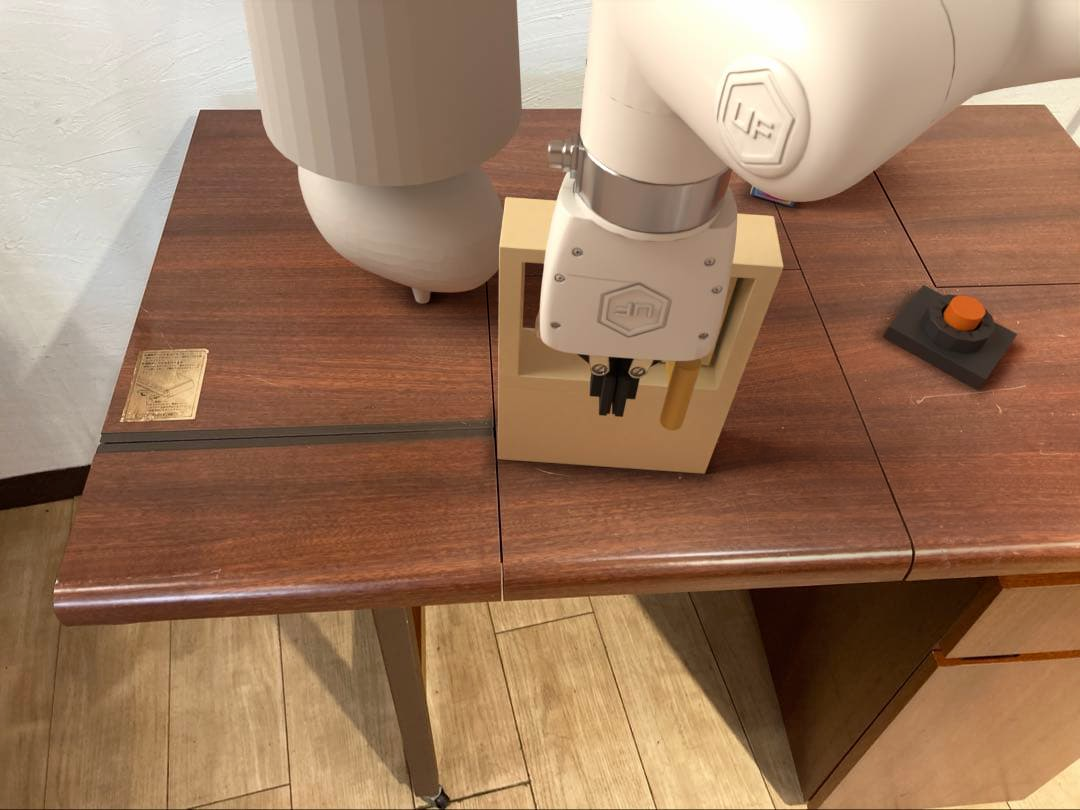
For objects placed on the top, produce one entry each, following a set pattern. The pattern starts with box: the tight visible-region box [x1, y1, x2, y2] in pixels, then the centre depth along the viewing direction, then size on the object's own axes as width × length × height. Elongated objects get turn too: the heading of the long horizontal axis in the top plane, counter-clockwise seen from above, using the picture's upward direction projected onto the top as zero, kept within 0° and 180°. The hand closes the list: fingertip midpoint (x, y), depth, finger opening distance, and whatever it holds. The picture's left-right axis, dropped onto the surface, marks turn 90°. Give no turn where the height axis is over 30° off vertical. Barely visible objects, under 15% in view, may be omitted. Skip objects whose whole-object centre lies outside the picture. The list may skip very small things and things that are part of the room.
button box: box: [882, 284, 1018, 391], centre depth 80 cm, size 10×8×4 cm
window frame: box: [497, 196, 785, 475], centre depth 62 cm, size 5×18×24 cm, turn 87°
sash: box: [660, 277, 738, 430], centre depth 55 cm, size 9×7×11 cm
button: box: [943, 295, 986, 332], centre depth 78 cm, size 3×3×2 cm
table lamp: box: [242, 0, 523, 304], centre depth 68 cm, size 23×22×40 cm
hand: (610, 399), depth 54 cm, fingers closed
